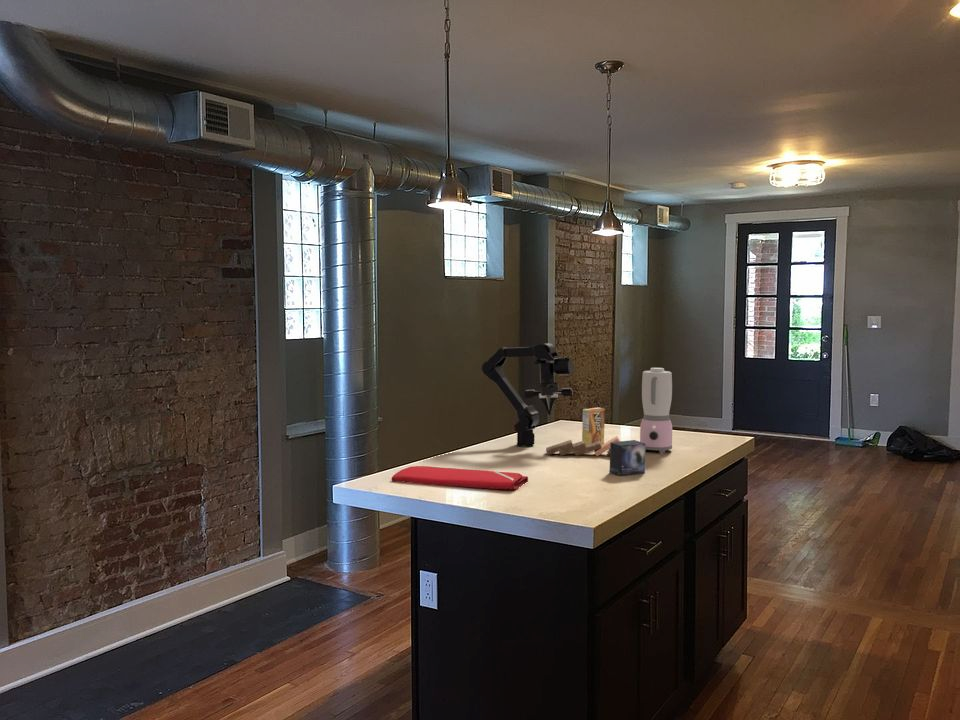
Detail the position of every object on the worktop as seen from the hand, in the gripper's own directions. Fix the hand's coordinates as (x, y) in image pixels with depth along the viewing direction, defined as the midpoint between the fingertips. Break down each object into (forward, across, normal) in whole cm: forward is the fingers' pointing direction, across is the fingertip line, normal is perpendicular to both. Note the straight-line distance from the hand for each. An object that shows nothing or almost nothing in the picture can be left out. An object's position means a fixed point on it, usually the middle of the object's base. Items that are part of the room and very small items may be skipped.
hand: (549, 414), depth 310 cm
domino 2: (+13, +4, -13) cm, 19 cm away
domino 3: (+13, +10, -12) cm, 21 cm away
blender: (+16, +40, -1) cm, 43 cm away
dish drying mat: (+14, -26, -64) cm, 70 cm away
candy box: (+14, +16, +4) cm, 22 cm away
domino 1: (+12, -1, -14) cm, 18 cm away
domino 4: (+14, +17, -12) cm, 25 cm away
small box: (+16, +28, -43) cm, 53 cm away
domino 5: (+15, +22, -12) cm, 29 cm away
